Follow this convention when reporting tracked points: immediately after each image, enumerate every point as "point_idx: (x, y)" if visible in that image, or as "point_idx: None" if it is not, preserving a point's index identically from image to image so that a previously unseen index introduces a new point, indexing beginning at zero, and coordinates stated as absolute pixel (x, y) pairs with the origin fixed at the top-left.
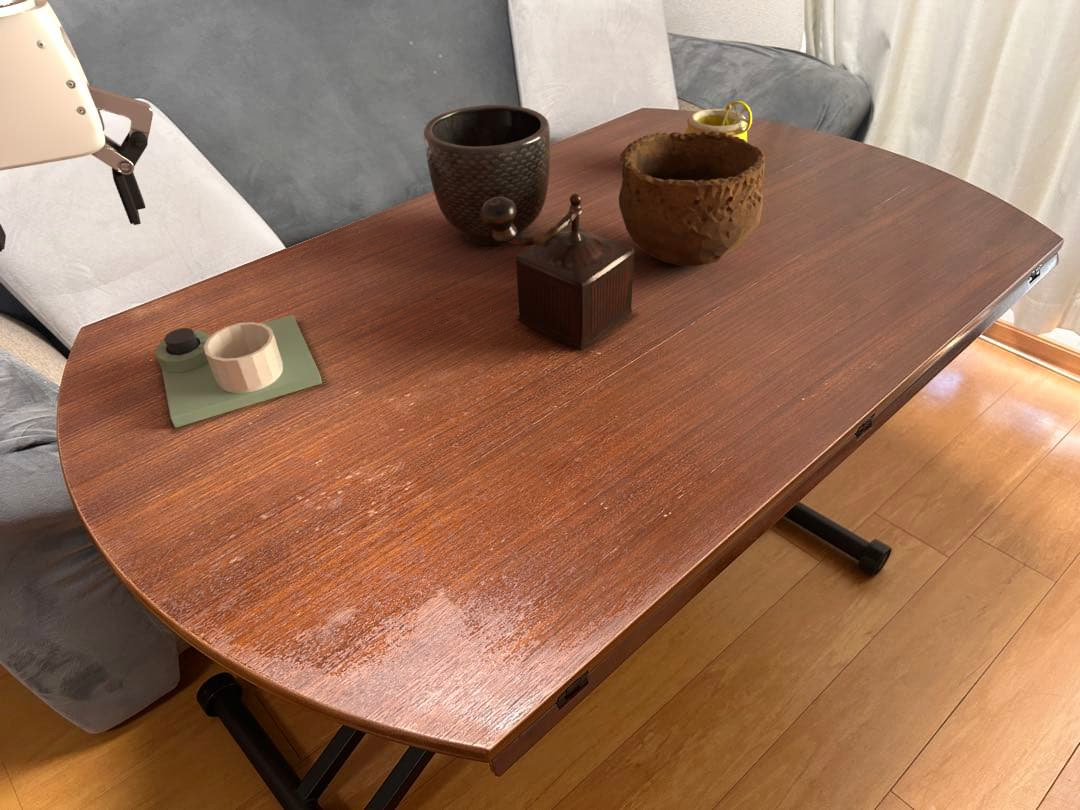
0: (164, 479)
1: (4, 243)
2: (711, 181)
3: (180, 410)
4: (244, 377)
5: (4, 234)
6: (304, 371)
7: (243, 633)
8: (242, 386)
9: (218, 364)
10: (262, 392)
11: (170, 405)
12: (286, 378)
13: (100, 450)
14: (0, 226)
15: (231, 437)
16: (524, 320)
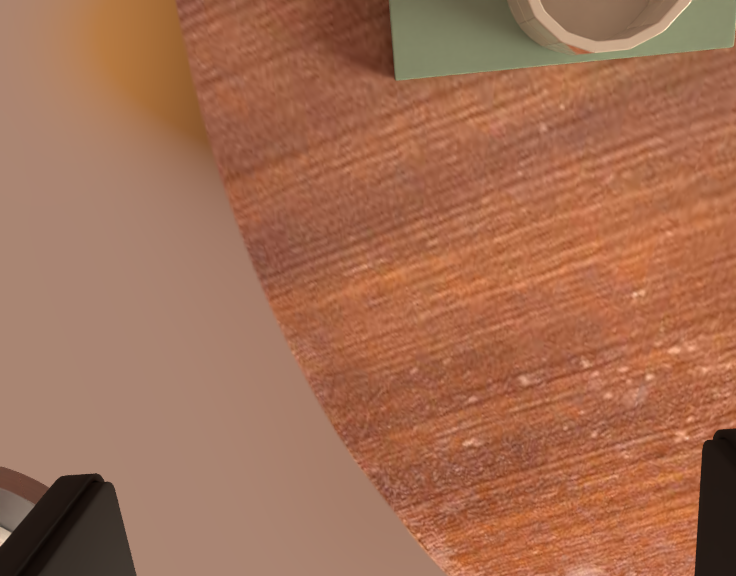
0: (374, 228)
1: (133, 573)
2: None
3: (416, 59)
4: (580, 54)
5: (110, 504)
6: (704, 19)
7: (466, 551)
8: (562, 52)
9: (541, 27)
10: (593, 60)
11: (395, 28)
12: None
13: (252, 91)
14: (90, 532)
15: (500, 158)
16: None
